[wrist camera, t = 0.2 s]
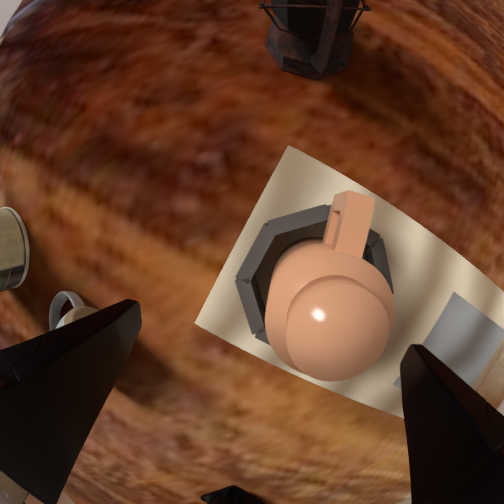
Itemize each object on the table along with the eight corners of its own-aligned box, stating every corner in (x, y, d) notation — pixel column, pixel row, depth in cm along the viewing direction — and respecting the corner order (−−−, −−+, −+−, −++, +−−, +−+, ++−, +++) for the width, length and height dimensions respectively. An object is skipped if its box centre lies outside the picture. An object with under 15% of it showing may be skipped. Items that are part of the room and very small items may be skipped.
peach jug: (339, 325, 23) (377, 405, 12) (262, 307, 23) (246, 384, 12) (372, 211, 21) (445, 212, 10) (291, 189, 22) (301, 168, 11)
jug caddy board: (199, 317, 25) (183, 337, 21) (288, 149, 23) (289, 135, 18) (438, 423, 24) (452, 446, 20) (515, 307, 22) (539, 319, 17)
